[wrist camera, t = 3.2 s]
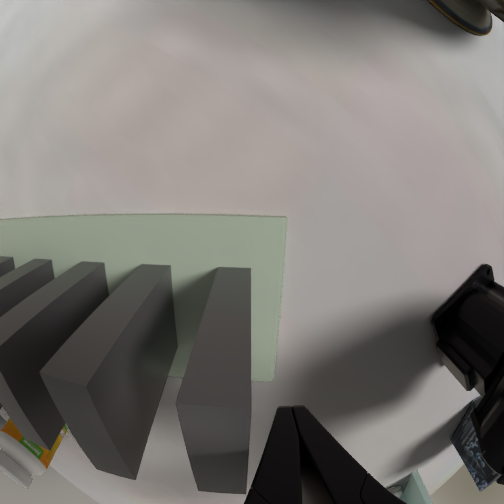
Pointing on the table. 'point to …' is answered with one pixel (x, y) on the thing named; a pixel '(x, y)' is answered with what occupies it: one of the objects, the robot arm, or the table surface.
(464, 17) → the apothecary jar
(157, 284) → the domino
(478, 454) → the box
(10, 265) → the domino
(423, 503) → the right angle wall
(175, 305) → the rack
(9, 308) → the domino
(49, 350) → the domino
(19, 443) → the supplement bottle
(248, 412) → the domino
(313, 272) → the table surface
